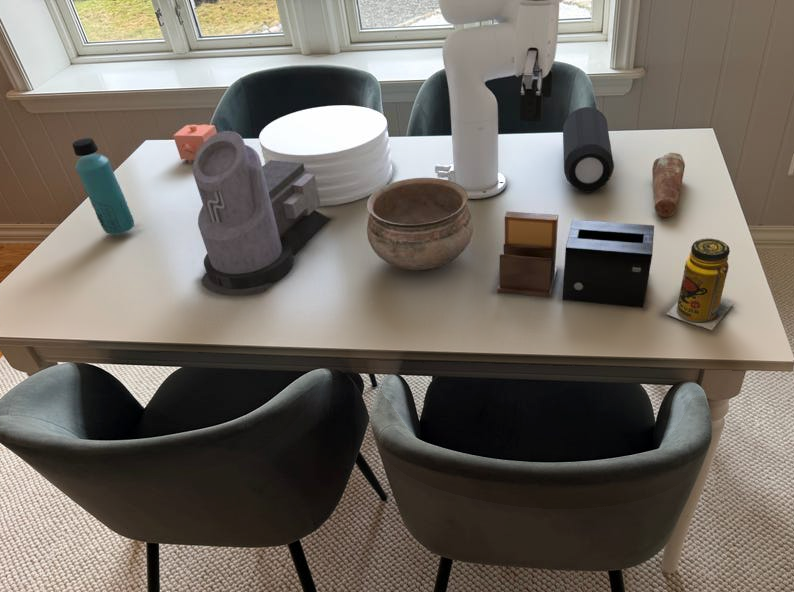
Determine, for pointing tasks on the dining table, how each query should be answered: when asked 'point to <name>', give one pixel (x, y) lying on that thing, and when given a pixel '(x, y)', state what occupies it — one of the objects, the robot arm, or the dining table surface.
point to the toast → (532, 230)
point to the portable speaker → (587, 150)
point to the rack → (526, 270)
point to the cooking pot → (419, 222)
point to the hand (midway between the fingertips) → (536, 107)
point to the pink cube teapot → (192, 139)
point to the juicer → (251, 215)
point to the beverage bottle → (102, 188)
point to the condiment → (703, 285)
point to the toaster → (608, 263)
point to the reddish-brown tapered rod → (667, 183)
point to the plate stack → (334, 149)
